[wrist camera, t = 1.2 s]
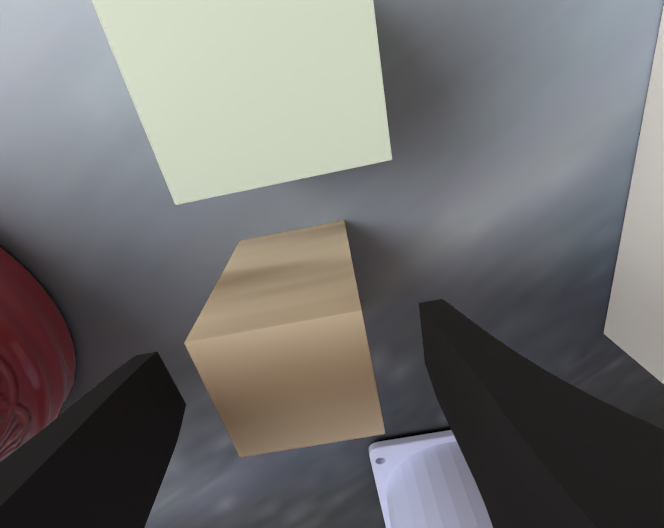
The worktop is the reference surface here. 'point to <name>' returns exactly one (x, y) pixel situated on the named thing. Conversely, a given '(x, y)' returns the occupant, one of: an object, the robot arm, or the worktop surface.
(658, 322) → the serving tray
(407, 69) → the worktop surface
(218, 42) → the sage block
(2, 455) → the canister
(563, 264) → the worktop surface
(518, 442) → the robot arm
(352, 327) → the maple block
